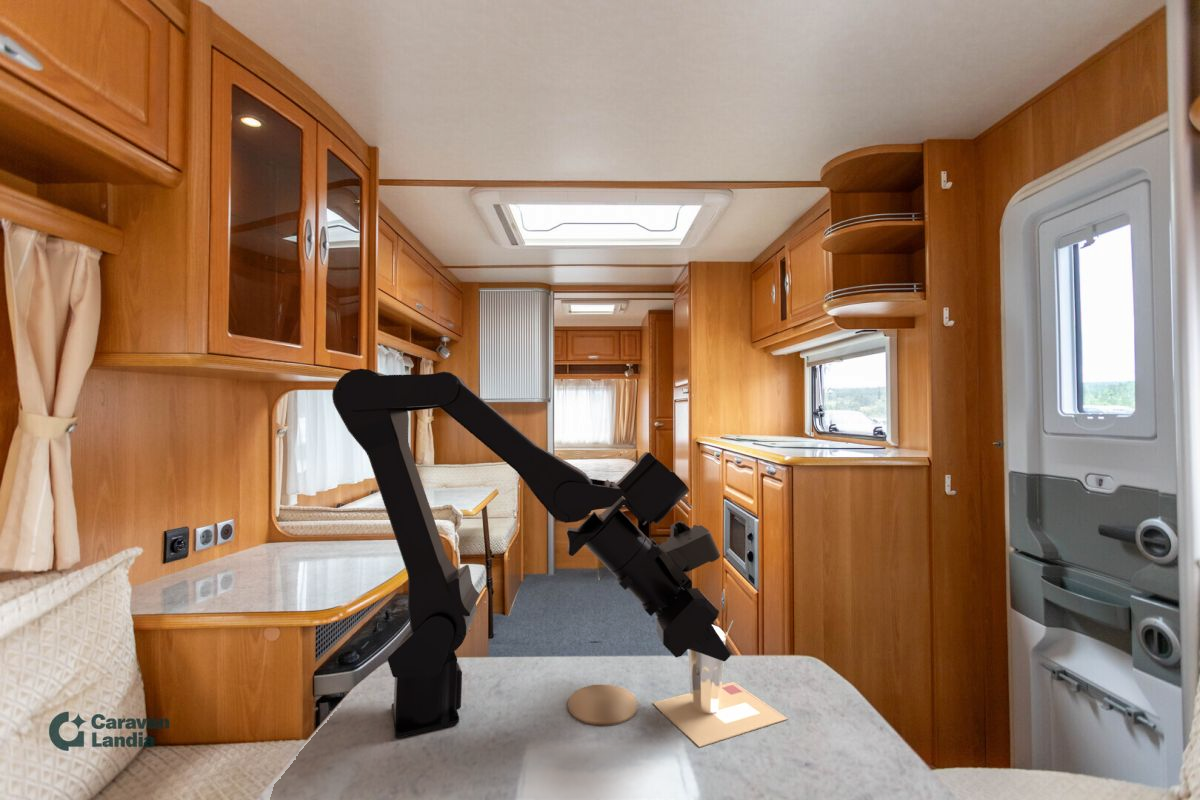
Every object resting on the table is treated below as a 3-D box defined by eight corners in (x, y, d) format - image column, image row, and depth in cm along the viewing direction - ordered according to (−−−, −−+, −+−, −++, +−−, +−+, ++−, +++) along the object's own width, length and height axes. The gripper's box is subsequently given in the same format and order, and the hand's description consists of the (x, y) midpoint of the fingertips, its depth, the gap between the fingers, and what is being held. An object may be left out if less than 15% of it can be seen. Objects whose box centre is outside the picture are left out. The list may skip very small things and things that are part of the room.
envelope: (699, 747, 51) (699, 746, 51) (652, 703, 59) (652, 702, 59) (787, 719, 56) (787, 718, 56) (733, 682, 64) (733, 681, 64)
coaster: (585, 732, 53) (585, 728, 53) (558, 696, 60) (558, 692, 60) (650, 715, 56) (650, 711, 56) (617, 682, 64) (617, 679, 64)
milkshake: (734, 721, 55) (734, 628, 56) (685, 714, 56) (685, 623, 57) (732, 699, 60) (732, 613, 60) (686, 693, 61) (686, 609, 61)
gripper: (698, 517, 50) (806, 629, 50) (660, 493, 69) (740, 575, 69) (618, 599, 49) (729, 714, 49) (602, 552, 67) (683, 635, 68)
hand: (721, 648), depth 59 cm, fingers closed on milkshake, 4 cm apart
